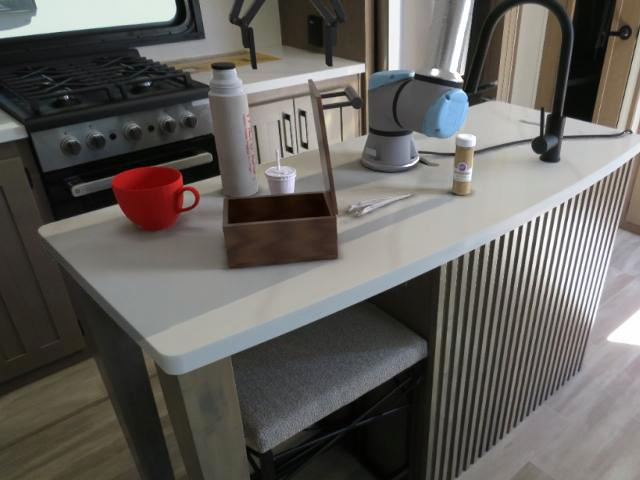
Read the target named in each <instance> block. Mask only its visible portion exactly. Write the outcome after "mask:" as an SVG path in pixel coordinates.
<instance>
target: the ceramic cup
mask: <svg viewBox="0 0 640 480" xmlns="http://www.w3.org/2000/svg"><path fill="white" fill-rule="evenodd" d="M110 185H111V189H112V191H113V194H114V198H115V200H116V202H117V205H118V206H119V209H120V211H121V212H122V213H123V214H124V216H125V217H126V218H127V219H128V220H129V221H130V222H132V223H133V224H134V225H136V226H137V227H139V228H140V229H141V230H143V231H147V232H156V231H162V230H166V229H169V228H170V227H173V225H174V224H175V222H176V221H177V219H178V218H179V216H180V214H183V213H186V212H190V211H192V210H194V209H195V208H196V207H197V206H198V205H199V202H200V200H201V194H200V192H199V191H198V189H197V188H196V187H193V186H189V185H188V186H184V181H183V175H182V173H181V171H180V170H178V169H176V168H172V167H169V166H143V167H137V168H136V167H135V168H132V169H129V170H125V171H123V172H122V171H121V172H120V173H117V174H116V175H115V176H113V178H112V179H111V181H110ZM186 191H187V192H191V193H192V194H193V195H194V202H193V204H191V205H190V206H187V207H184V202H185V201H184V199H185V197H184V196H185V192H186Z"/></svg>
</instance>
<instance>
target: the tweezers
mask: <svg viewBox="0 0 640 480" xmlns="http://www.w3.org/2000/svg"><path fill="white" fill-rule="evenodd" d="M409 196H412V193H409V194H404V195H403V194H402V195H398V196H391V197H383V198H375V199H366V200H362V201H358V202H354V203H352V204H349V205H348V206H347V208H346V210H347V213H350V212H351V211H353V210H355V209H360V208H363V209H362V210H360V211H355V218H359V217H361V216H363V215H365V214H367V213H368V212H372V211H374V210H375V209H378V208H380V207H383V206H386V205H388V204H390V203H393V202H396V201H400V200H403V199H406V198H407V197H409Z"/></svg>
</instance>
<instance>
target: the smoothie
mask: <svg viewBox="0 0 640 480" xmlns="http://www.w3.org/2000/svg"><path fill="white" fill-rule="evenodd" d="M275 160H276V165H275V166H271V167H268V168H267V169H265V170H264V178H265V179H266V180H267V185H268V188H269V193H270V195H273V194H287V193H295V184H296V182H295V180H296V179H295V178H296V177H297V171H296V170H297V169H295V168H294V167H292V166H287V165H281V163H280V155H279V149H277V148H275Z"/></svg>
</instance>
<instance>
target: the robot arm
mask: <svg viewBox="0 0 640 480" xmlns="http://www.w3.org/2000/svg"><path fill="white" fill-rule="evenodd" d="M328 1H329V4H330V6H331V8H332V10H333V12H334V14H335V16H333V14H332V12H330V10H329V9H328V8H327V7H326V5H325V4H324V3H323V1H321V0H309V2H310V3H311V4H312V5H313V7H315V9H316V10H317V11H318V13H319V14H320V15H321V16H322V18H323V19H324V20H325V22H326V23H327V24H328V25H323V35H324V37H323V38H324V39H323V40H324V59H325V65H326V66H327V67H331V68H332V67H333V66H334V64H333V62H334V61H333V60H334V59H333V47H337V45H338V26H339V25H341V24H344V23H345V24H346V22H347V21H348V17H347V15H346V12H345V10H344V8H343V5H342V4H341V2H340V0H328ZM265 2H266V0H252V1H251V3H250V5H249V6H248V8H247V9H246V11H245V12H244V14H243V15H242V17H239V16H240V15H241V12H242V8H243V6H244V3H245V0H233V2H232V5H231V8H230V12H229V15H228V21H229V23H230V24H231V25H234V26H237V27H239V29H240V36H241V44H242V46H243V48H244V49H248V51H249V58H250V66H251V69H252V70H255V71H256V70H258V63H257V62H258V61H257V54H256V43H255V35H254V28H253V27H252V26H250V25H251V23H252V22H253V20H254V18H255V17H256V15H257V14H258V13H259V11H260V9H261V8H262V6H264V4H265ZM474 3H475V0H434V4H433V8H432V15H431V19H430V25H429V30H428V35H427V41H426V46H425V50H424V51H425V52H424V57H423V62H422V65H421V66H420V67H419V68H418V69H416V70H412V69H392V70H384V71H383V70H381V71H377V72H374V73H372V74H371V75H370V76H369V78H368V89H367V107H368V108H367V115H368V117H367V118H368V135H367V137H366V141H365V143H364V147H363V150H362V153H361V163H362V166H364V167H366V168H368V169H370V170H373V171H376V172H383V173H400V172H407V171H411V170H413V169H416V168H417V167H419V164H420V155H432V156H433V155H435V156H445V157H447V156H448V157H449V156H450V157H451V156H454V157H455V152H439V151H429V150H418V146H417V143H416V139H415V135H414V132H415V133H418V134H422V135H425V136H426V137H428V138H434V139H439V140H444V139H445V140H446V139H448V138H451V137H452V136H454V135H455V134H456V133H457V132H458V131H459V130H460V129H461V127H462V126H463V125H464V123H465V121H466V119H467V117H468V113H469V105H470V104H469V103H470V102H469V100H468V99H469V98H468V95H467V93H466V92H465V91H464V90H463V86H464V79H463V78H462V75H461V74H460V70H461V65H462V61H463V56H464V51H465V46H466V41H467V37H468V33H469V27H470V24H471V18H472V13H473V10H474ZM624 132H626V133H629V134H634V132H633V131H632V129H630V128H627V129H625V130H623V131H622V132H620V133H613V134H612V133H611V134H574V135H573V134H572V135H570V134H569V135H562V136H563V138H562V139H577V138H578V139H581V138H614V137H615V138H617V137H621V136H623V135H625V134H626V133H624ZM534 138H535V137H534ZM534 138H527V139H520V140H514V141H510V142H505V143H499V144H496V145H492V146H488V147H484V148H481V149H477V150H474V155H475V154H480V153H483V152H488V151H490V150H495V149H499V148H503V147H508V146H513V145H517V144H523V143H529V142H533V141H532V140H533V139H534Z"/></svg>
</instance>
